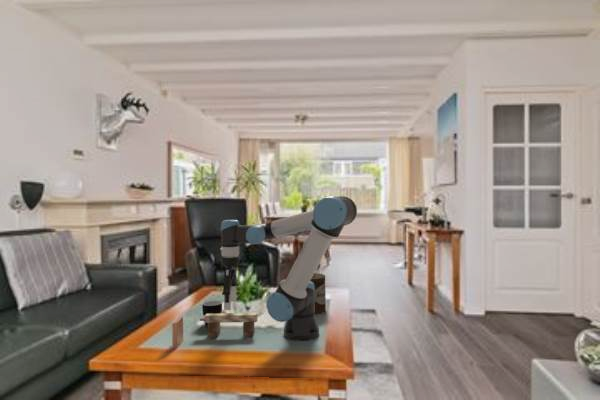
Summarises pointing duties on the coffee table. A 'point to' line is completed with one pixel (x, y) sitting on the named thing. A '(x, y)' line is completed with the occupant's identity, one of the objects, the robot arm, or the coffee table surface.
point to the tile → (177, 332)
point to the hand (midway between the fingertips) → (230, 305)
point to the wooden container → (319, 292)
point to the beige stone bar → (229, 317)
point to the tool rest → (215, 330)
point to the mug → (211, 308)
